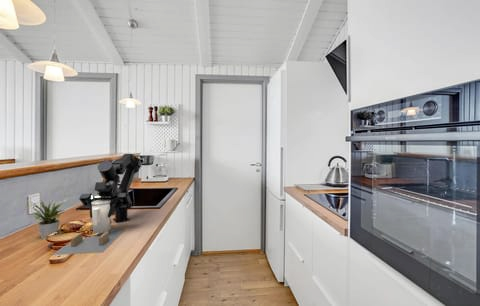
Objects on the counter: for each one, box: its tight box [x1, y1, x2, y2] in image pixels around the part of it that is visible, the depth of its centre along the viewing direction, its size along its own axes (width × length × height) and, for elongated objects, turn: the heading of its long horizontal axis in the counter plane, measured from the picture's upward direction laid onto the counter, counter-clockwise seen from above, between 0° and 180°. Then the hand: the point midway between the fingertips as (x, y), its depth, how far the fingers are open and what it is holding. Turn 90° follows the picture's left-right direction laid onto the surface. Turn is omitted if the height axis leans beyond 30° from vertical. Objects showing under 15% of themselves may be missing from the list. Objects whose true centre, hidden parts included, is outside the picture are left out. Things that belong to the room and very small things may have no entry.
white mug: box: [91, 199, 112, 233], centre depth 100 cm, size 9×7×12 cm
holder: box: [51, 228, 127, 256], centre depth 94 cm, size 24×16×4 cm, turn 7°
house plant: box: [27, 197, 68, 240], centre depth 99 cm, size 14×14×16 cm
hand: (99, 217), depth 99 cm, fingers closed on white mug, 6 cm apart
